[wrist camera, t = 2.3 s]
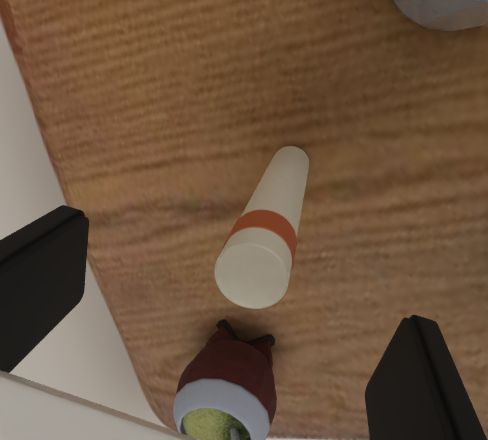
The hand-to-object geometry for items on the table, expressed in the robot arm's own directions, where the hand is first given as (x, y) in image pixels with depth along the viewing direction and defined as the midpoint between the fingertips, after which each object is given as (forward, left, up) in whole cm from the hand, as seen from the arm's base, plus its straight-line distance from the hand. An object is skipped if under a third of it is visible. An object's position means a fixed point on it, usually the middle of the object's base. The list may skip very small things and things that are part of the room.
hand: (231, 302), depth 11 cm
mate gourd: (-1, +16, -16) cm, 22 cm away
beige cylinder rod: (0, 0, -15) cm, 15 cm away
